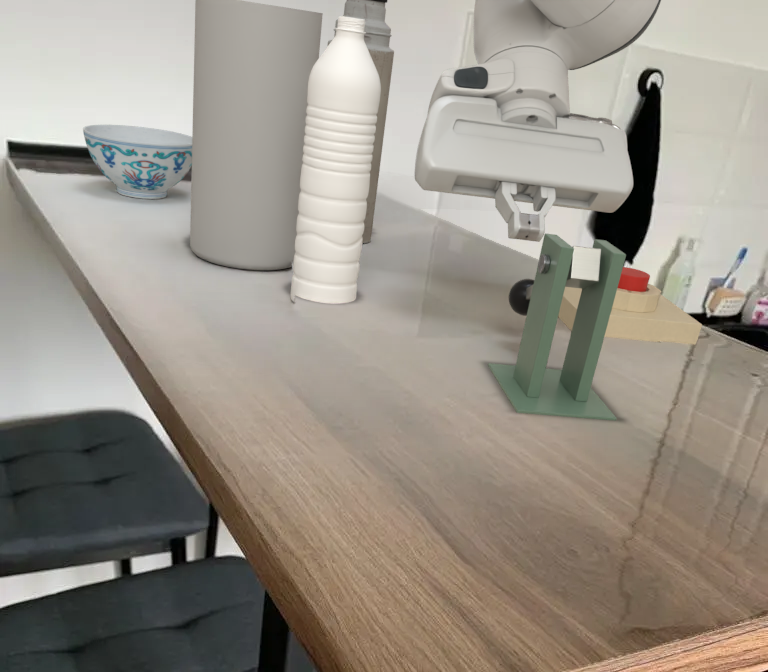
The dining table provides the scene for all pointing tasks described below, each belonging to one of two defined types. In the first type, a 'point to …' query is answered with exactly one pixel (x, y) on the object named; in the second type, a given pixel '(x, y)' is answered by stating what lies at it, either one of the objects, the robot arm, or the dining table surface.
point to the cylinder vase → (249, 130)
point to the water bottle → (336, 167)
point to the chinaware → (139, 158)
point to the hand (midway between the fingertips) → (526, 236)
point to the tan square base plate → (639, 316)
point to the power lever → (579, 276)
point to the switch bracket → (573, 383)
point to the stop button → (633, 280)
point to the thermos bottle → (370, 6)
